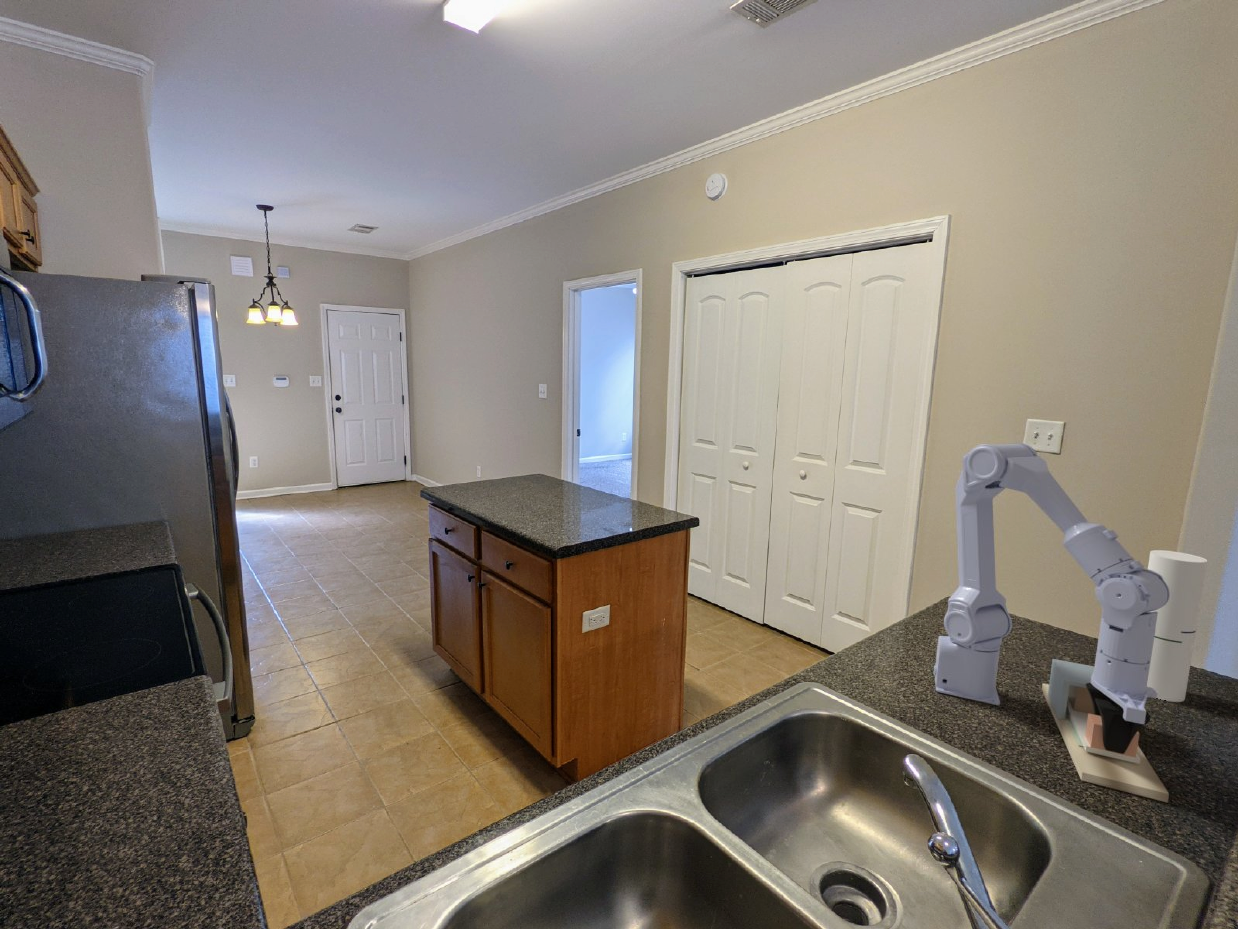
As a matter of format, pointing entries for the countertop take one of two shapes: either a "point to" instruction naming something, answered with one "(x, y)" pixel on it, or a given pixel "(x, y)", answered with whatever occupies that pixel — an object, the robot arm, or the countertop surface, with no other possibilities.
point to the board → (1109, 764)
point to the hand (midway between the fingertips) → (1110, 744)
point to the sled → (1093, 726)
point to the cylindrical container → (1175, 622)
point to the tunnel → (1066, 682)
